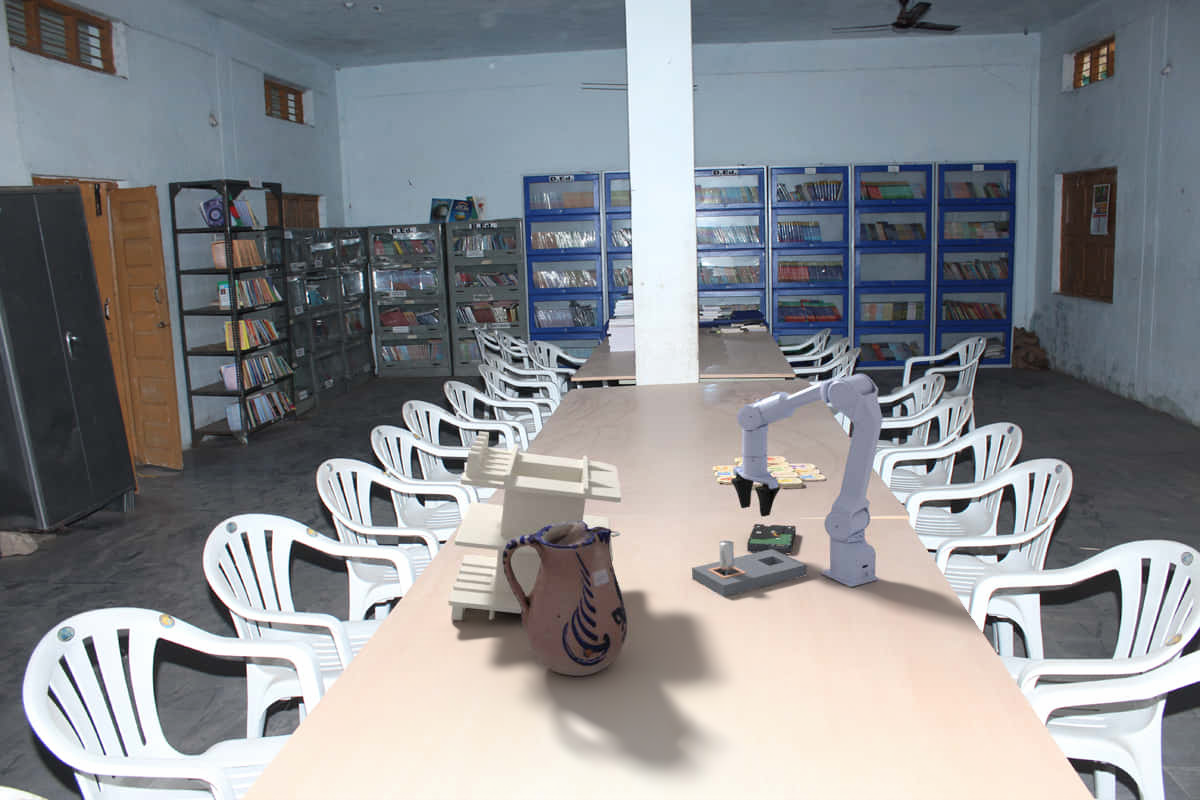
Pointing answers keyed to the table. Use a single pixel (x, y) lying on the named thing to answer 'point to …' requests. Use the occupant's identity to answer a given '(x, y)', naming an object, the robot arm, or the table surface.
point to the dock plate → (750, 572)
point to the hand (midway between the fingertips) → (755, 511)
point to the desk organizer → (520, 517)
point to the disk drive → (771, 538)
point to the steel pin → (726, 558)
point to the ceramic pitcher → (571, 598)
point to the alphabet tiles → (775, 473)
